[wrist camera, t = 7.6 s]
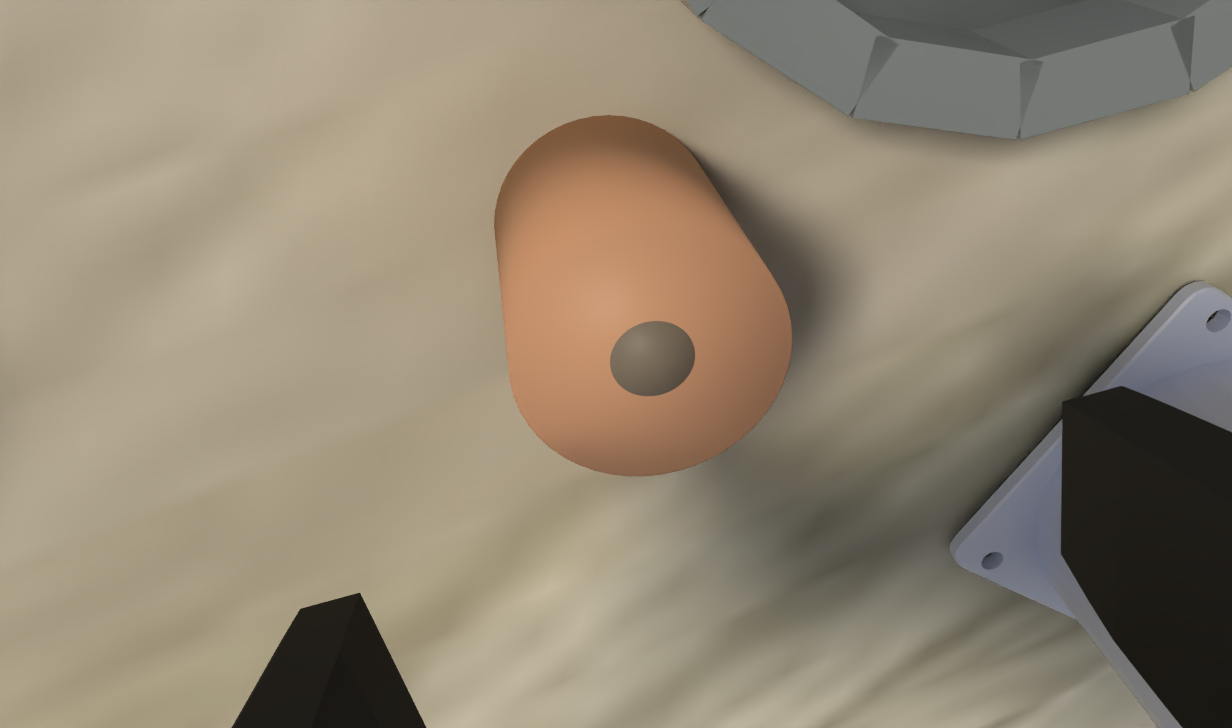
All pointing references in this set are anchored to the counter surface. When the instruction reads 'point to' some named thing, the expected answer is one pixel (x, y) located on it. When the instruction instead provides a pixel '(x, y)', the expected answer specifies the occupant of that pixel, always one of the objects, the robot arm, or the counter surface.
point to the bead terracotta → (633, 301)
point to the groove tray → (984, 56)
